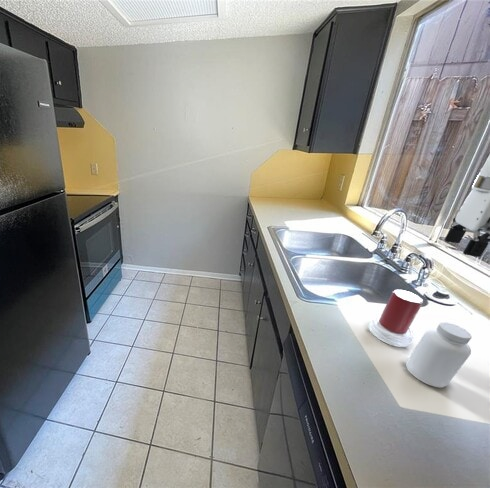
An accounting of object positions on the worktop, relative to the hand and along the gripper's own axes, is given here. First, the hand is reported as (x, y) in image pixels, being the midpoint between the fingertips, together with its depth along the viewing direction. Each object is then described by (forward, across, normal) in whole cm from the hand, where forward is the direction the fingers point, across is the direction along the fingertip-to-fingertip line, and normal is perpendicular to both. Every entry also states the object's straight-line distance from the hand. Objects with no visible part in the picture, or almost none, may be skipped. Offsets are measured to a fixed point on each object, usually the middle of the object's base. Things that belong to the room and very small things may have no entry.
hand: (460, 248), depth 70 cm
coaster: (+28, -8, +9) cm, 31 cm away
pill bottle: (+28, -21, +4) cm, 36 cm away
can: (+25, -8, +9) cm, 28 cm away
